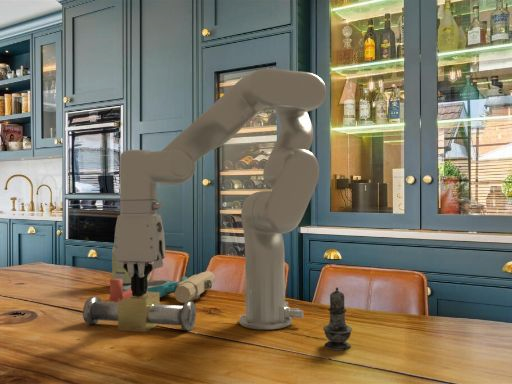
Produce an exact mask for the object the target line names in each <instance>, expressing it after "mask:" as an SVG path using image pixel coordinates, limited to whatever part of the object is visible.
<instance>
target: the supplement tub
mask: <svg viewBox="0 0 512 384" xmlns="http://www.w3.org/2000/svg"><path fill="white" fill-rule="evenodd" d="M115 263H116V259H115V256H114V246H113V247H112V250H111V268H112V269H111V271H112V272H111V275H112V276H111V277H112V279H117V278H119V279H123V287H126V286H129V285H131V277H129V275H128V272H127V271H126V270H125V269H124V268H121V267H118V266H116V264H115ZM139 266H140V263H139ZM150 274H151V273H150ZM150 274H149V275H147V281H151V280H150V276H151V275H150Z"/></svg>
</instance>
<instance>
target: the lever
mask: <svg viewBox="0 0 512 384" xmlns="http://www.w3.org/2000/svg"><path fill="white" fill-rule="evenodd" d="M147 291H148V288H147ZM147 291H146V292H147ZM131 296H132V290H131V287H130V289H129V290H127V291H124V292H123V279H119V278H117V279H109V299H108V300H109V301H108V302H119V301H122V300H124V299H126V298H128V297H131Z"/></svg>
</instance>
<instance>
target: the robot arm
mask: <svg viewBox="0 0 512 384" xmlns="http://www.w3.org/2000/svg"><path fill="white" fill-rule="evenodd" d="M326 98H327V87H326V84H325V82H324V81H323V79H322V78H321V77H319V76H318V75H317V74H314V73H312V72H307V71H297V70H287V69H279V68H278V69H277V68H259V69H256V70H254V71H252V72H251V73H249V74H247V75H246V76H244V77H242V78H241V79H239V80H238V81H237V82H236V83H235V84H234V85H232V86H231V87H230V88H229V89H228V90H227V91H226V92H225V93H224V94H222V96H221V97H220V98H218V100H216V101H215V102H214V103H212V105H211V106H210V107H208V108H207V109H206V110H205V111H204V112H203V113H202V114H200V116H198V117H197V118H196V119H195V120H193V122H192V123H191V124H190V125H189V126H188V127H187V128H186V129H184V130H183V131H182V132H181V133H180V134H179V135H177V136H176V137H175V138H174V139H173V140H172V141H171V142H170V143H168V144H167V145H166V146H165V147H164V148H163V149H162V150H157V151H152V150H146V149H145V150H144V149H128V150H125V151H122V153H120V157H119V198H120V199H119V200H120V201H119V206H120V207H119V208H120V210H119V213H120V214H119V215H117V218H116V224H115V230H114V241H113V244H114V245H113V247H114V256H115V259H116V263H115V264H116V266H118V267H121V268H124V269H125V270H126V271H127V272H128V275H129V277H131V290H132V296H142V295H144V294H146V291H147V288H148V285H147V275H149V274H151V272H153V270H156V269H160V268H163V267H164V261H163V260H164V259H165V258H166V241H165V239H166V238H165V231H164V226H163V220H162V216H161V215H162V214H158V210H162V208H163V204H162V202H161V203H160V202H158V199H157V195H158V194H157V193H158V192H157V191H158V189H157V183H158V184H161V185H163V186H177V185H178V186H179V185H182V184H185V183H188V181H190V180H191V178H192V177H193V176H194V175H195V171H196V162H198V161H199V160H200V159H201V158H202V157H204V156H205V155H208V154H209V153H210V152H212V151H213V150H215V149H217V148H219V147H221V146H223V145H225V144H226V143H228V141H230V140H232V139H233V138H234V137H235V135H236V134H237V133H239V131H240V130H241V129H243V127H245V125H247V124H248V122H250V121H251V120H252V119H253V118H254V117H255V116H256V115H257V114H258V113H259V112H260V111H262V110H263V109H266V108H268V107H273V108H274V110H275V113H276V114H277V117H278V119H279V124H280V129H279V134H278V136H277V138H276V141H275V142H274V145H273V148H272V150H271V152H270V154H269V157H268V158H267V161H266V163H265V164H264V167H263V172H262V175H263V180H264V182H265V184H266V185H267V186H268V187H270V188H272V189H271V190H260V191H256V192H252V193H251V194H249V196H247V198H246V199H244V201H243V204H242V206H241V212H240V213H241V223H242V229H243V230H242V231H243V236H244V238H243V240H244V276H245V277H244V282H245V287H244V289H245V290H244V291H245V299H244V300H245V313H244V314H242V315H240V316H239V319H238V320H239V321H238V323H239V324H240V325H241V326H243V327H244V328H246V329H251V330H262V331H264V330H265V331H268V330H277V329H283V328H287V327H288V326H290V325H291V324H292V322H293V321H292V319H293V318H295V319H303V318H304V310H303V309H300V308H299V307H293V308H292V307H290V306H289V302H288V301H286V283H285V279H286V276H285V275H286V272H285V271H286V270H285V268H286V267H285V265H286V264H285V263H286V261H285V258H286V257H285V253H286V252H285V243H284V237H283V234H288V233H290V232H292V231H293V230H295V229H296V228H297V227H298V226H299V224H300V223H301V221H302V219H303V218H304V216H305V212H306V210H307V208H308V206H309V203H310V201H311V199H312V196H313V194H314V192H315V189H316V187H317V184H318V183H319V177H320V165H319V162H318V159H317V157H316V156H315V154H313V152H311V151H310V149H311V147H312V144H313V141H314V127H313V123H312V120H311V118H310V116H309V113H308V112H311V111H314V110H316V109H318V108H319V107H320V106H321V105H323V103H324V102H325V100H326ZM139 263H140V266H139Z"/></svg>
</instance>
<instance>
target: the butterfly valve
mask: <svg viewBox="0 0 512 384" xmlns="http://www.w3.org/2000/svg"><path fill="white" fill-rule="evenodd" d="M215 280H216V276H215V273H213V271H211V270H210V271H209V270H206V271H203V272H200V273H198V274H193V275H191V276H190V277H187V276H183V277H182V278H181V281H172V280H171V279H156V280H155V279H154V280H150V281H147V285H148V291H147V292H159V298H161V297H165V296H168V295H170V294H174V298H175V299H176V300H177V302H179V303H182V304H184V303H185V302H187V301H188V302H192V301H196V300H198V299H200V298H201V297H200V296H201V294H203V293H204V292H205V291H207V289H208V290H209V289H211V288H212V287H213V285H214V283H215ZM130 287H131V285H129V286H126V287H123V292H124V291H127V290H129V289H130Z"/></svg>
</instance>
